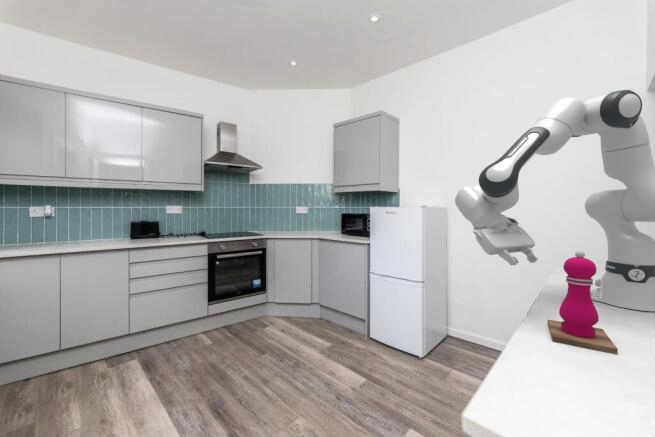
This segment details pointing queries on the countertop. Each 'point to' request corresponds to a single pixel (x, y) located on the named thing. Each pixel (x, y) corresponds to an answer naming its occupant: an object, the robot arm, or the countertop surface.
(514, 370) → the countertop surface
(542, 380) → the countertop surface
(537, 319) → the countertop surface
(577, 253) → the pepper mill
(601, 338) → the walnut board
